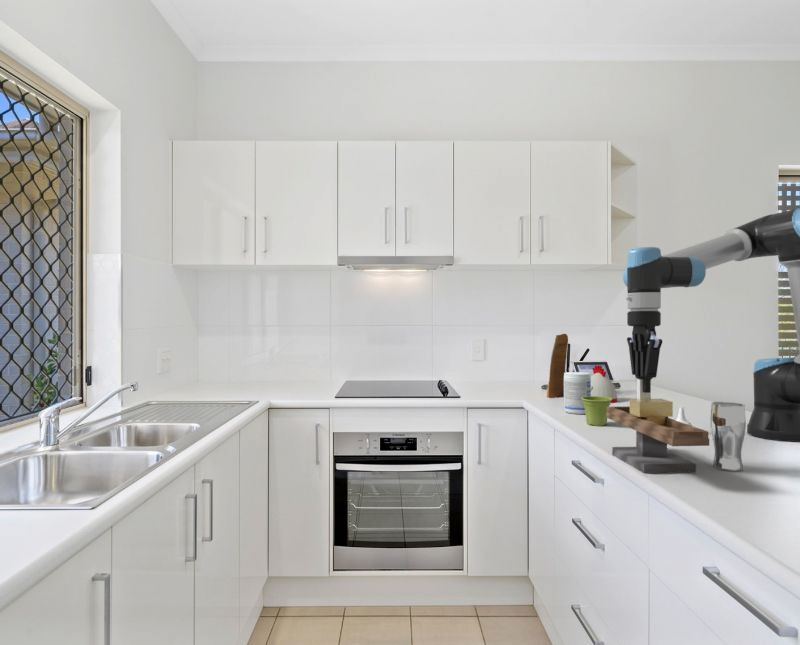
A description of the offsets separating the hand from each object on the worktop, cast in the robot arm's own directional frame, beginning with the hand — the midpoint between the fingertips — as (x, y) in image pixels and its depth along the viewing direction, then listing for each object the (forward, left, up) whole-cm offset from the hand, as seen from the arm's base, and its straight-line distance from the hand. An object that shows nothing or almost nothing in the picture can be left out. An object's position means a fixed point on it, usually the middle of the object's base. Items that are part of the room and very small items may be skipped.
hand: (643, 405), depth 130 cm
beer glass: (-16, +9, -14) cm, 22 cm away
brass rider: (0, +3, -4) cm, 5 cm away
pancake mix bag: (-15, -105, -14) cm, 107 cm away
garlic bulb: (-27, -29, -14) cm, 42 cm away
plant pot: (-6, -42, -14) cm, 45 cm away
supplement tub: (-8, -64, -14) cm, 66 cm away
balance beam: (0, +4, -13) cm, 14 cm away
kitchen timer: (-28, -91, -14) cm, 97 cm away
